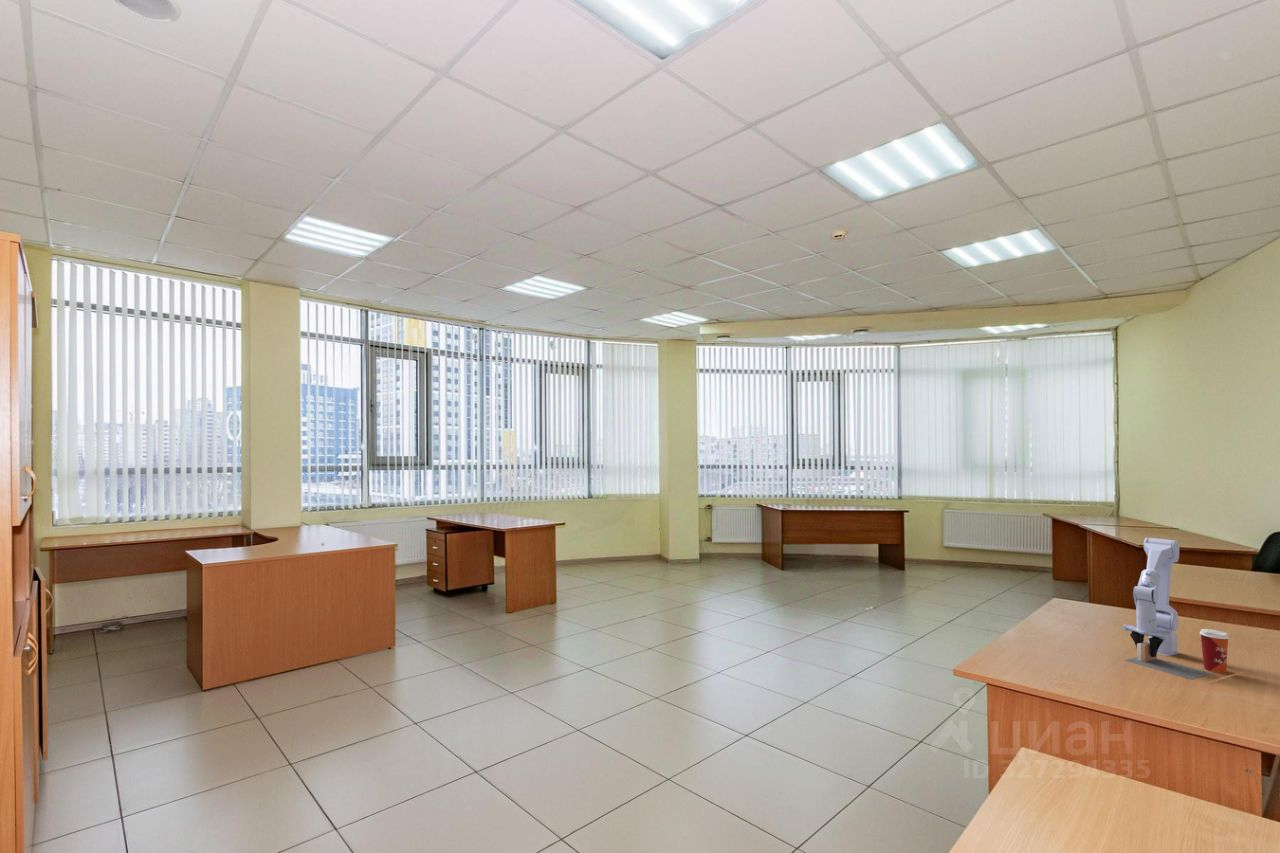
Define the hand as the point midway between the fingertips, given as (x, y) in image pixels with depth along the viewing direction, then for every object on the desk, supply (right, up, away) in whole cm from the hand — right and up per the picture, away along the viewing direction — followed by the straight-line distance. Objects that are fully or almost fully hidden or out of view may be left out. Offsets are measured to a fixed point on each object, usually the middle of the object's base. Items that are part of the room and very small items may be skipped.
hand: (1147, 654), depth 222 cm
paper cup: (+16, -2, -10) cm, 19 cm away
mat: (+1, -2, -7) cm, 8 cm away
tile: (0, -2, 0) cm, 2 cm away
